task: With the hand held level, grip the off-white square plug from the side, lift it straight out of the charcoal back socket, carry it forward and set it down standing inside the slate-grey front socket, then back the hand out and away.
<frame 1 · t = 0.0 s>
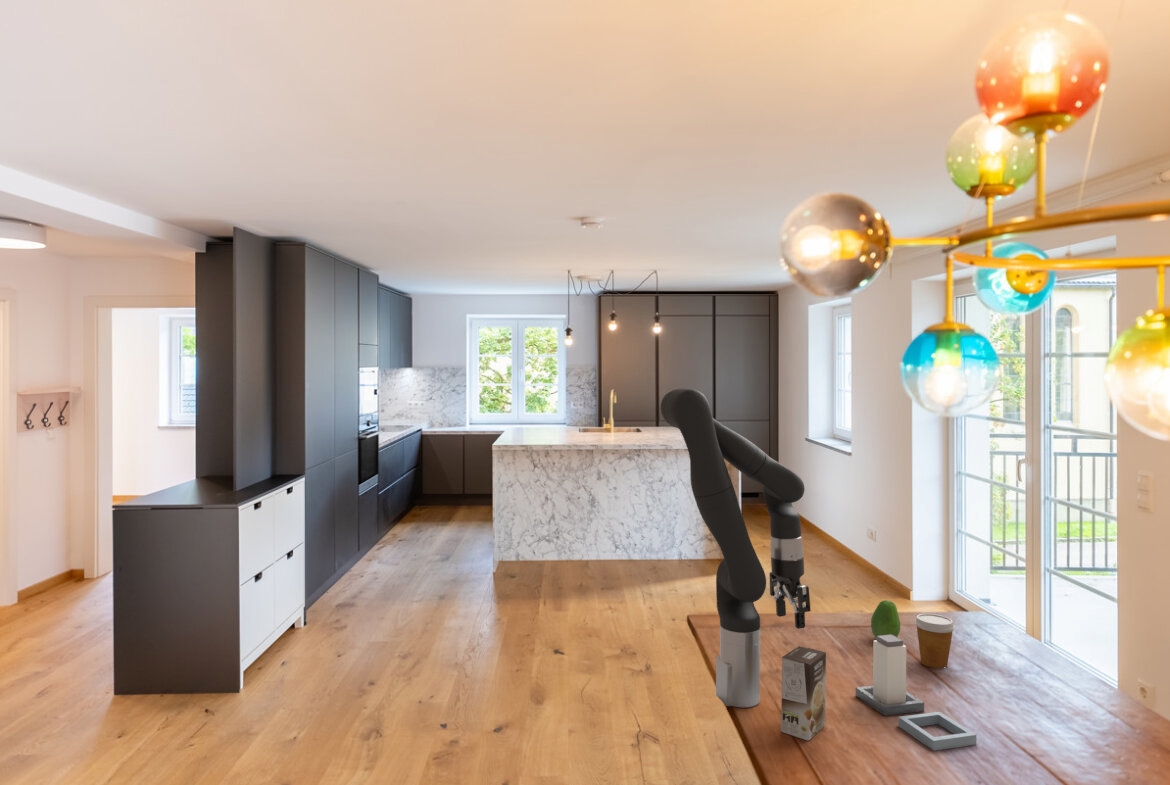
hand: (790, 621, 166), 17 cm above the table, tool pointing down, fingers open, 8 cm apart
coffee box: (803, 729, 149), on the table
back socket: (889, 703, 161), on the table
disposable coffee cup: (934, 664, 185), on the table
avocado: (885, 642, 201), on the table
plug: (889, 670, 161), in the back socket
front socket: (936, 734, 147), on the table
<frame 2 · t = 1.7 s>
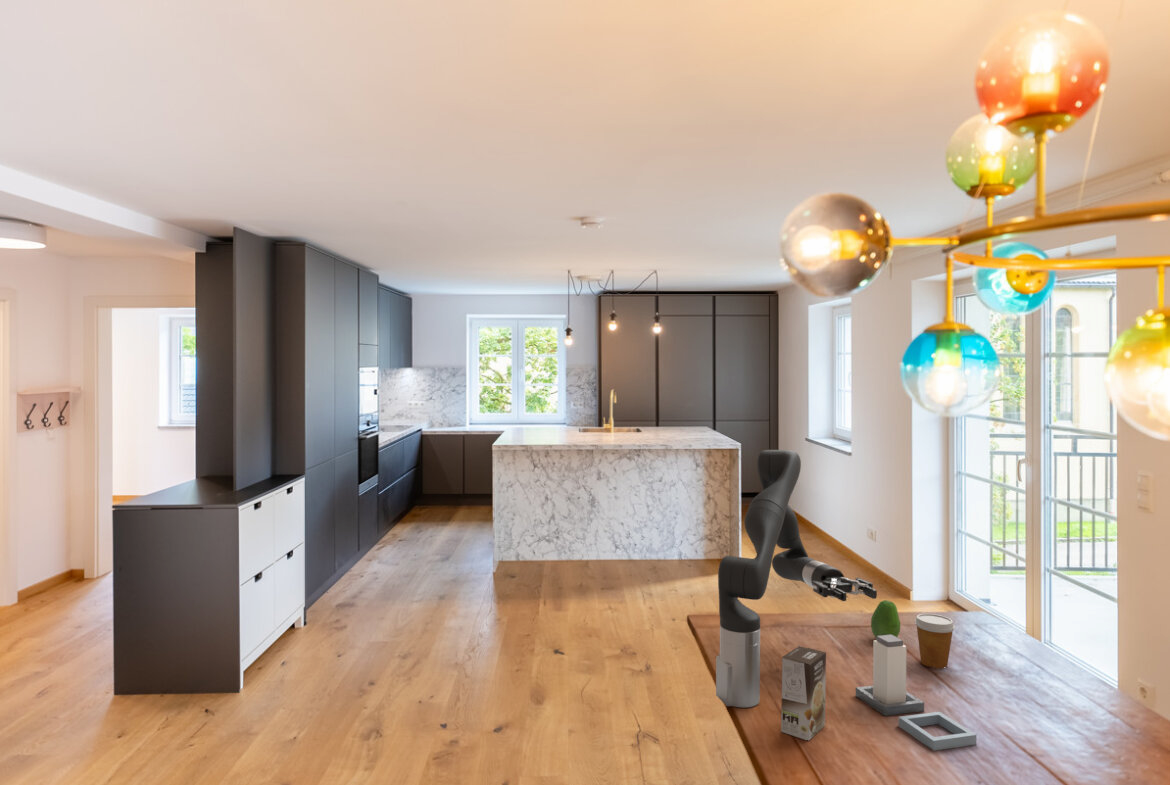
hand: (860, 596, 172), 22 cm above the table, tool horizontal, fingers open, 8 cm apart
nothing on the table moved.
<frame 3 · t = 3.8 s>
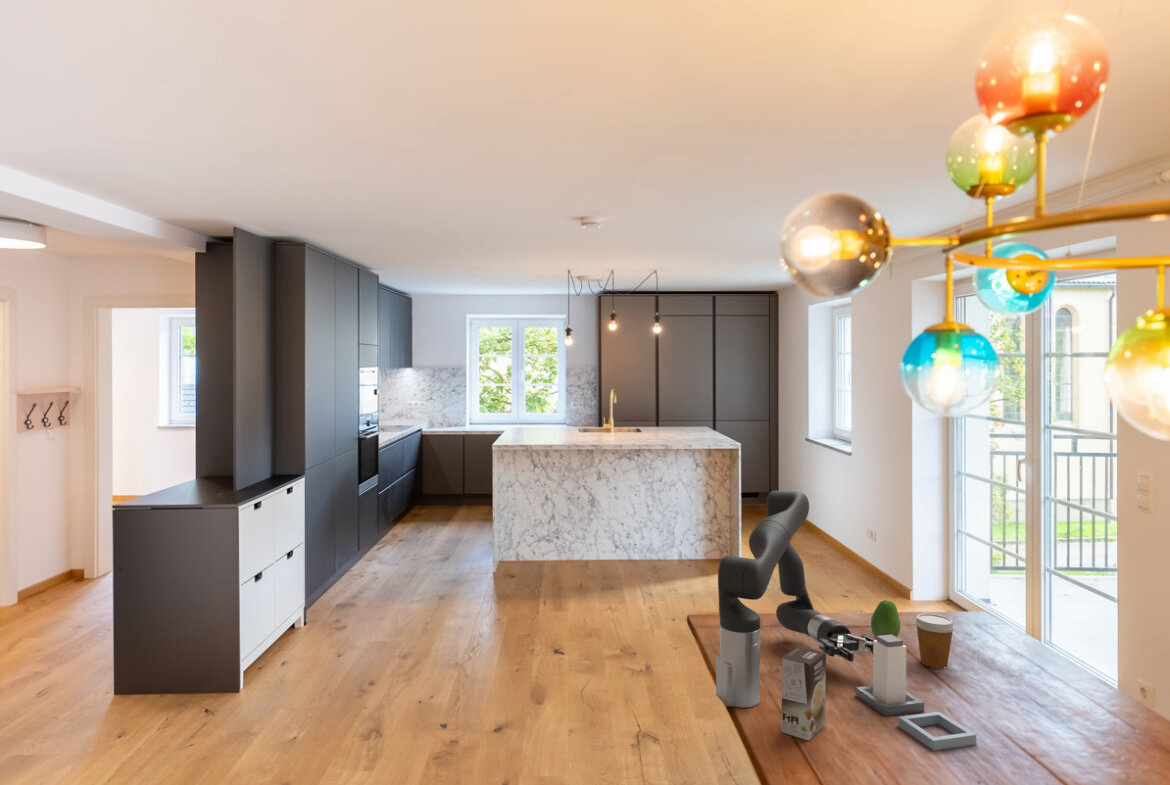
hand: (867, 656, 169), 8 cm above the table, tool horizontal, fingers open, 8 cm apart
nothing on the table moved.
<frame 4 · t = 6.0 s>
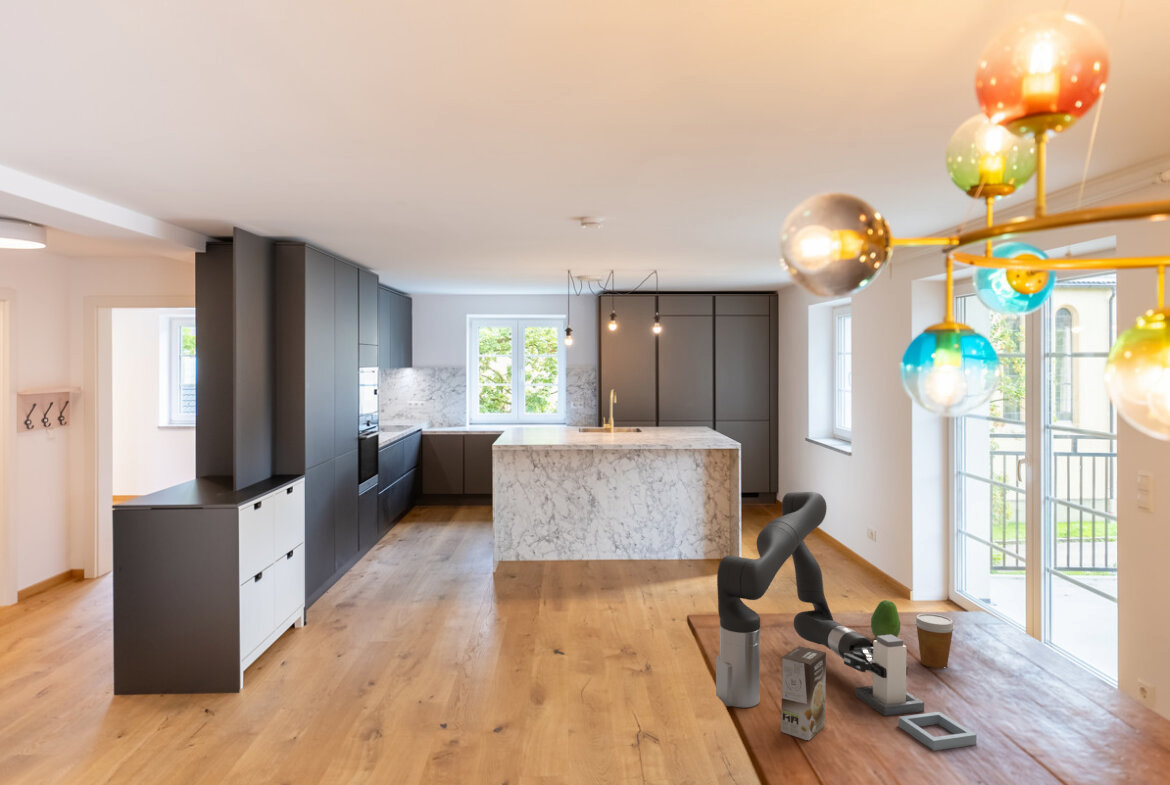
hand: (895, 672, 159), 8 cm above the table, tool horizontal, fingers closed on plug, 5 cm apart
plug: (889, 670, 161), in the back socket, touching gripper
everything else where it was.
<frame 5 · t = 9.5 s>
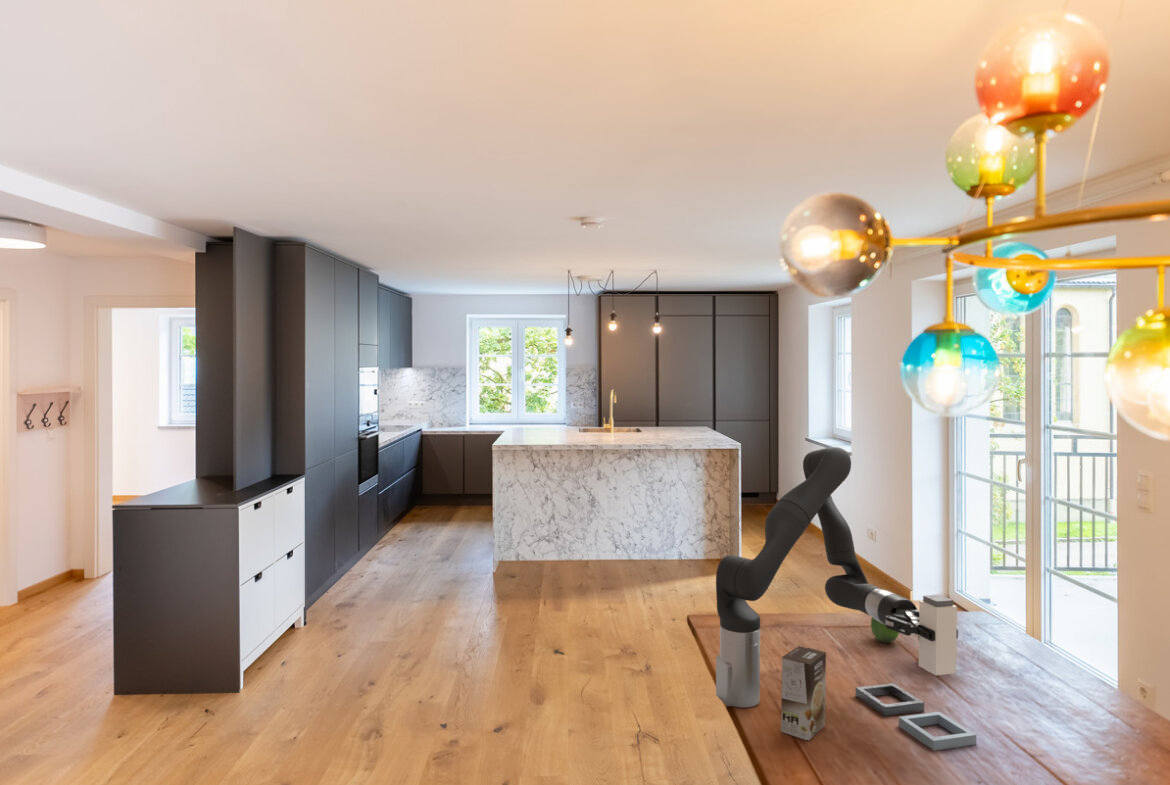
hand: (945, 635, 145), 22 cm above the table, tool horizontal, fingers closed on plug, 5 cm apart
plug: (937, 633, 147), point 22 cm above the table, touching gripper
everything else where it was.
when the fingers open (9 cm above the table, at t = 13.0 s): plug stays where it is, resting in front socket.
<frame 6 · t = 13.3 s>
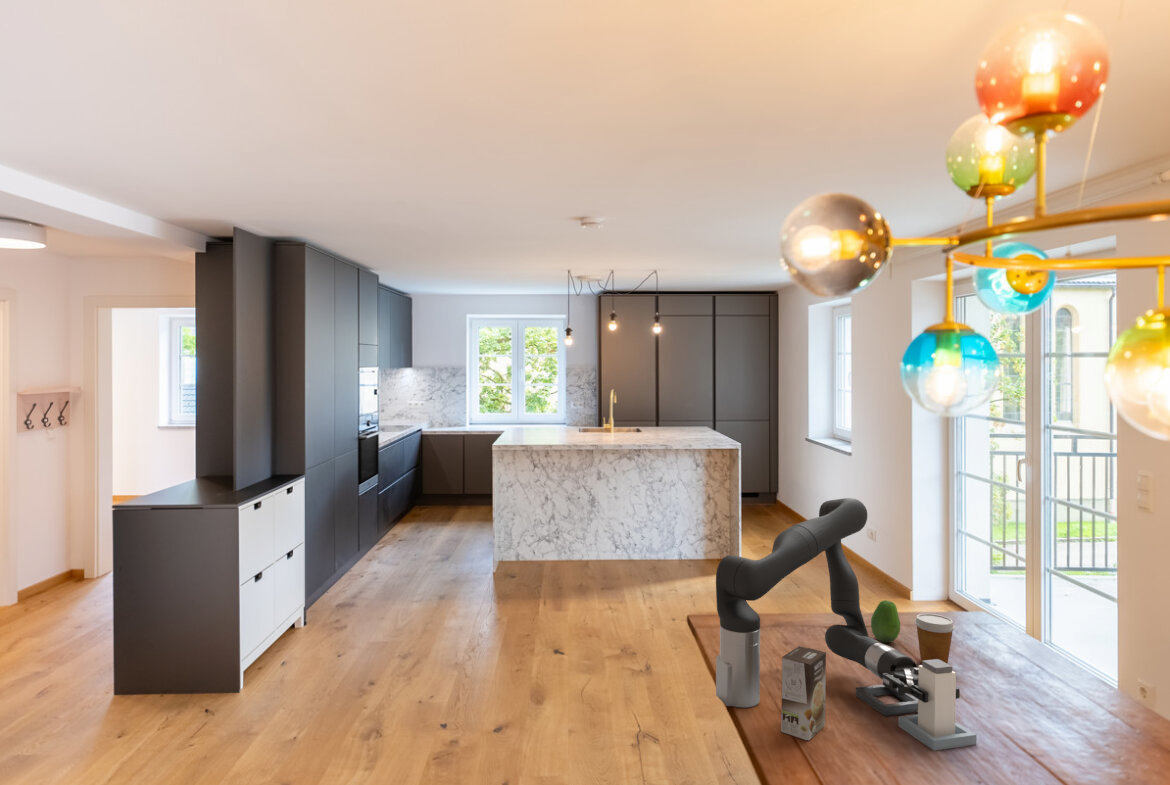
hand: (942, 696, 145), 9 cm above the table, tool horizontal, fingers open, 7 cm apart
plug: (936, 699, 147), in the front socket
everything else where it was.
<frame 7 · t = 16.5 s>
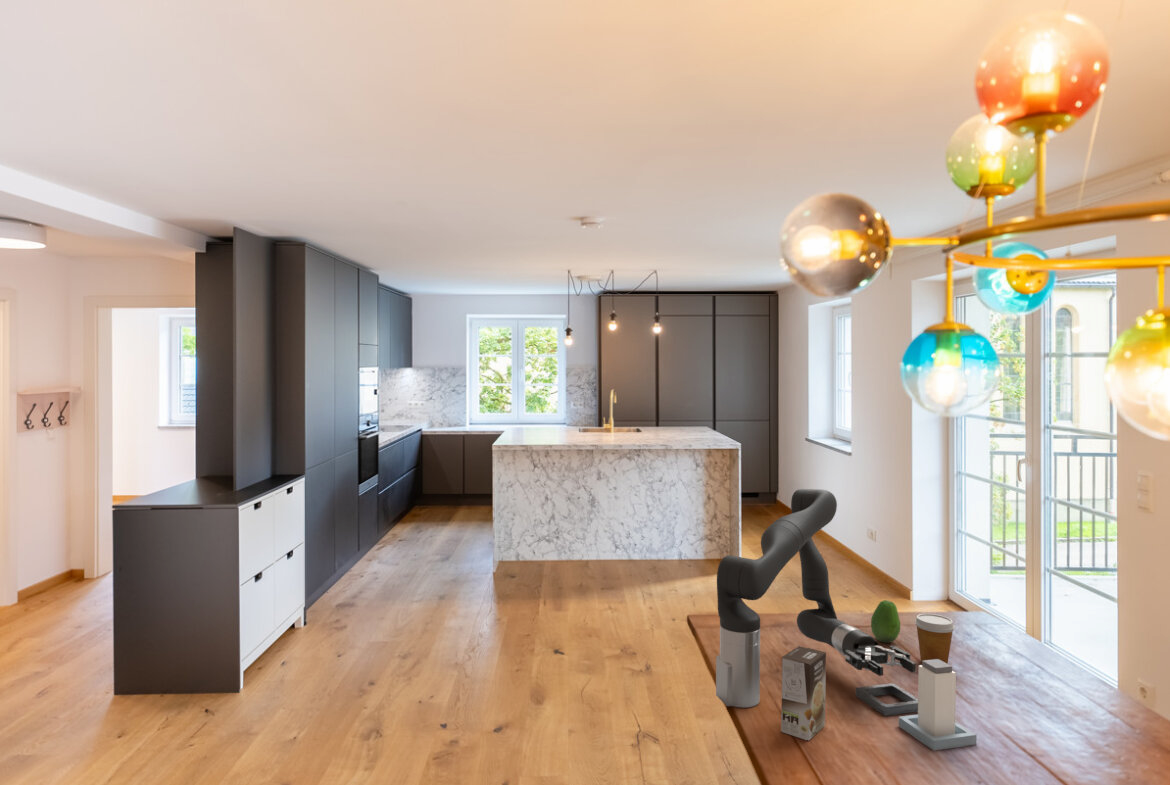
hand: (898, 669, 158), 9 cm above the table, tool horizontal, fingers open, 8 cm apart
nothing on the table moved.
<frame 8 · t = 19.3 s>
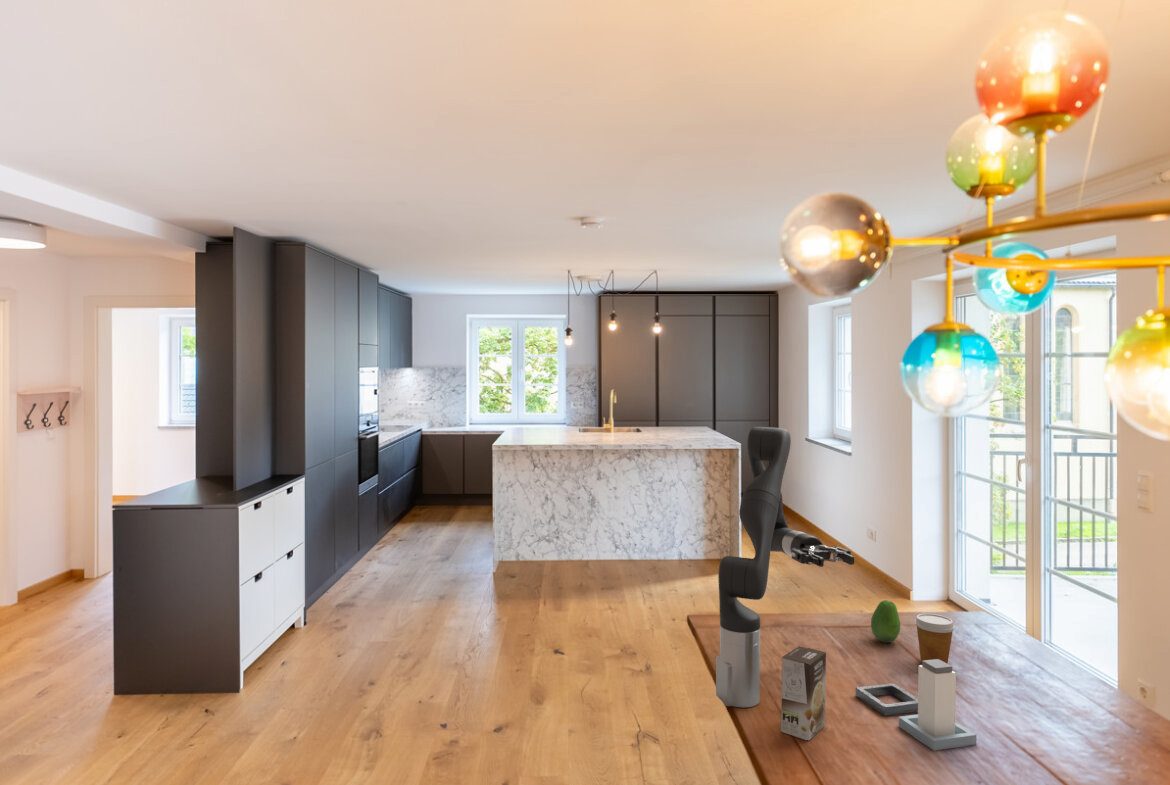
hand: (837, 561, 173), 30 cm above the table, tool horizontal, fingers open, 8 cm apart
nothing on the table moved.
at the end: plug 0.1 cm off-centre on the front socket, point 7.6 cm above the front socket's base; plug tilted 0°; the gripper is holding nothing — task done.
